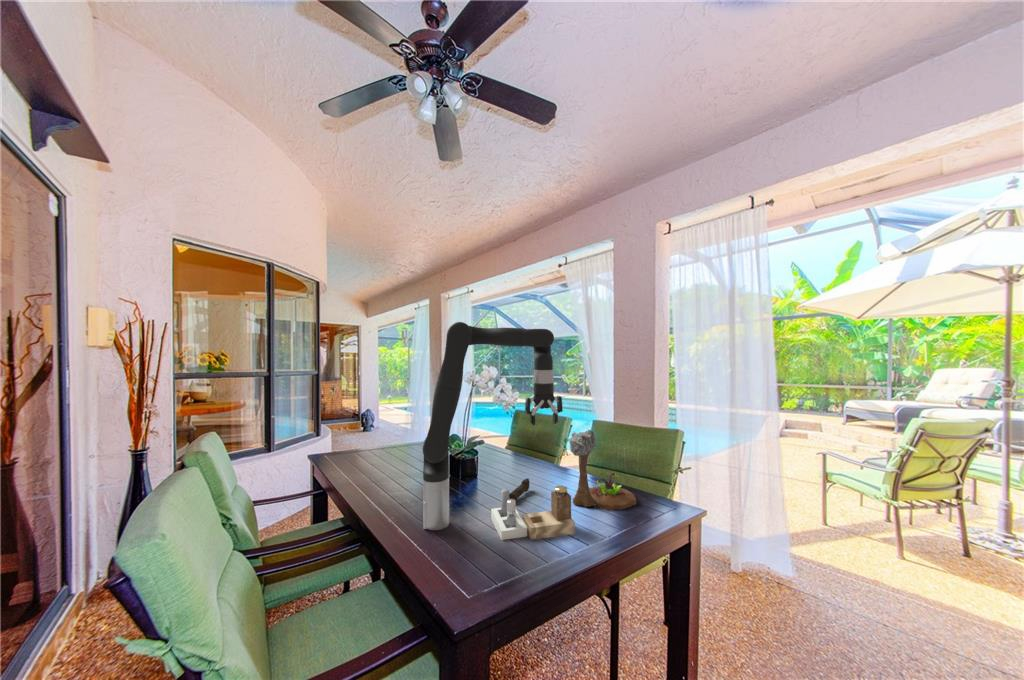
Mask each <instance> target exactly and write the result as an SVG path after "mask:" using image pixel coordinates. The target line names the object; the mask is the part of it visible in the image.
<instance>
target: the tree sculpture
mask: <svg viewBox="0 0 1024 680" xmlns="http://www.w3.org/2000/svg"><path fill="white" fill-rule="evenodd" d="M568 440H569V449H570V453H572V454H573V455H574V456H575V457H578V471H579V479H578V482H577V483H578V486H577V489H576V492H575V495H574V497H573V499H572V503H573V504H574V505H576V506H582V507H584V508H590V507H592V506H596V505H595V503H596V502H595V500H594V499H593V498H592V496H591V494H590V491H589V488H590V487H589V480H588V472H587V466H588V458H589V456H590V454H591V452H592V451H593V450H595V447H597V443H596V442H597V439H596V436H595V433H594V431H593V430H591V429H587V430H586V431H584V432H578V433H577V432H573V433H572V434H571V437H570V438H569V439H568Z"/></svg>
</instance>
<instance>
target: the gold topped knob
mask: <svg viewBox="0 0 1024 680" xmlns="http://www.w3.org/2000/svg"><path fill="white" fill-rule="evenodd" d="M554 491H555V492H557V495H558V496H565V493H566V492H568V487H567V486H565V485H556V486H554Z"/></svg>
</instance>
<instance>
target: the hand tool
mask: <svg viewBox="0 0 1024 680" xmlns="http://www.w3.org/2000/svg"><path fill="white" fill-rule="evenodd" d="M529 489H530V479H529V478H525V479H523V480H522V481H521V483H520V484H519V486H517V487H516V488H515V489H513V490H512V491H511V492H509V499H514V500H515V501H517V500H518V499H519V498H520V496H522V495H523V494H524V493H525V492H526V493H527V492H528V491H529Z"/></svg>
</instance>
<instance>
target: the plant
mask: <svg viewBox="0 0 1024 680" xmlns="http://www.w3.org/2000/svg"><path fill="white" fill-rule="evenodd" d="M612 476H613V477H614V478H615V477H616V476H617V473H616V472H611V473H610V475H609V477H608V481H607V480H606V479H605V478H599V479H597V480H596V484H597V485H598V486H593V487H589V491H590V494H591V496H592V498H593V499H594V500H595V502H596V503H595V505H594V506H596V507H597V508H599V509H602V510H605V509H606V511H610V510H611V511H612V510H613V511H615V509H621V510H620V511H623V510H622V509H624V510H626V509H625V508H627V509H629V508H631V507H634V506H636V505H637V498H636V497H635V495H634V493H633V492H631V491H630V490H628V489H626V488H622V486H623V485H622V484H619V485H618V484H617V483H616V481H615V482H614V481H612ZM601 481H603V482H602V484H601ZM633 505H634V506H633ZM628 507H629V508H628ZM611 511H610V512H611Z"/></svg>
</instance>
